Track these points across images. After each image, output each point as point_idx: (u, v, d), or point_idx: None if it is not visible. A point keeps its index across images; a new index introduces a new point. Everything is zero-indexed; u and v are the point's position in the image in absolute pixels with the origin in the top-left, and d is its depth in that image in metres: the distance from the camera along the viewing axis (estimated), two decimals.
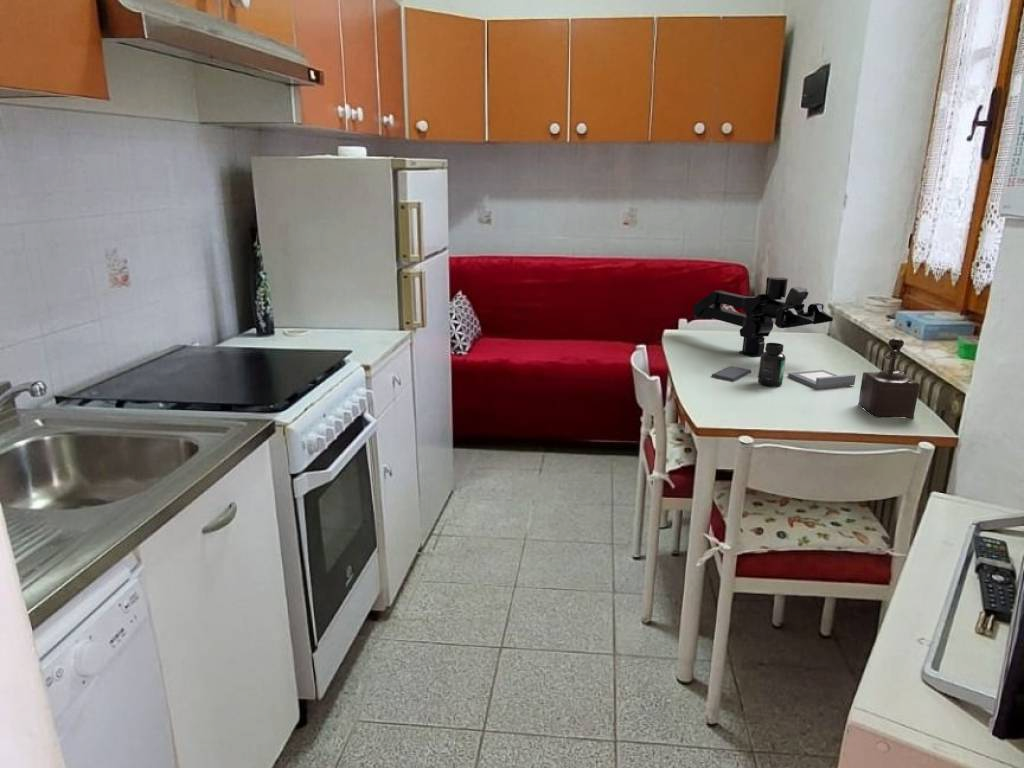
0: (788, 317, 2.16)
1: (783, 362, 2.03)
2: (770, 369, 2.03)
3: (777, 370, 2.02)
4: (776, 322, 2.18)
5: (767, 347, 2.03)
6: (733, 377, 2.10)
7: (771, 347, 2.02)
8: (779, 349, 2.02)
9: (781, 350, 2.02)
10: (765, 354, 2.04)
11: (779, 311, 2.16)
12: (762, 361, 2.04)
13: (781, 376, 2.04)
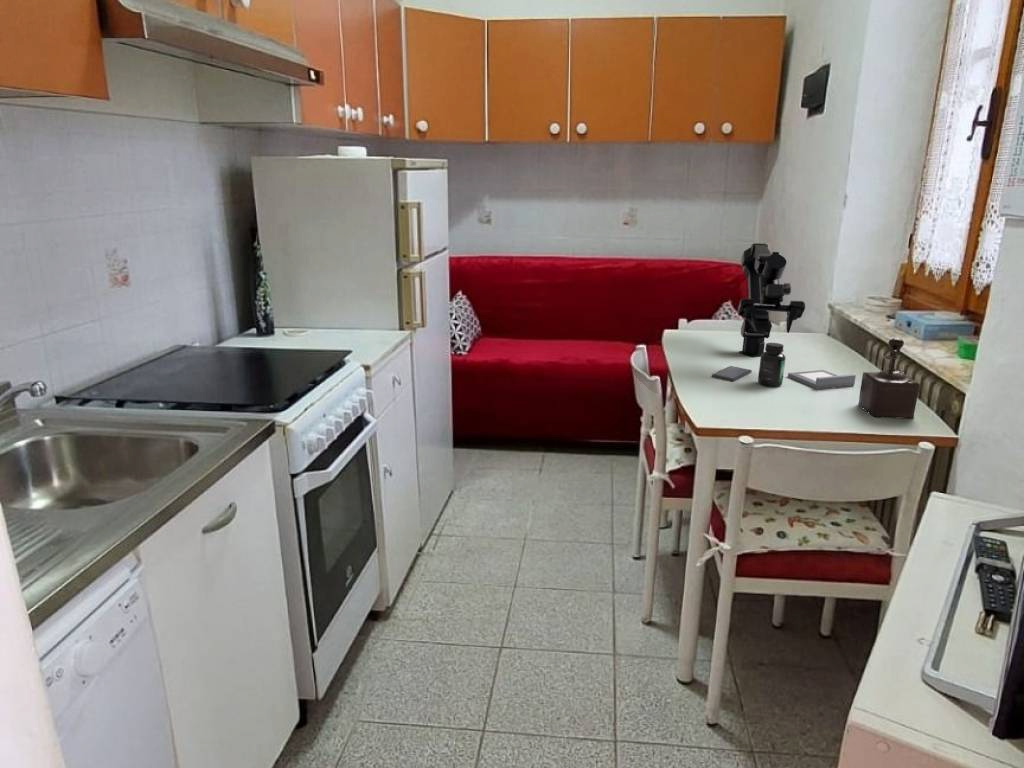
0: (746, 311, 2.14)
1: (783, 362, 2.03)
2: (770, 369, 2.03)
3: (777, 370, 2.02)
4: (738, 308, 2.18)
5: (767, 347, 2.03)
6: (733, 377, 2.10)
7: (771, 347, 2.02)
8: (779, 349, 2.02)
9: (781, 350, 2.02)
10: (765, 354, 2.04)
11: (740, 302, 2.14)
12: (762, 361, 2.04)
13: (781, 376, 2.04)
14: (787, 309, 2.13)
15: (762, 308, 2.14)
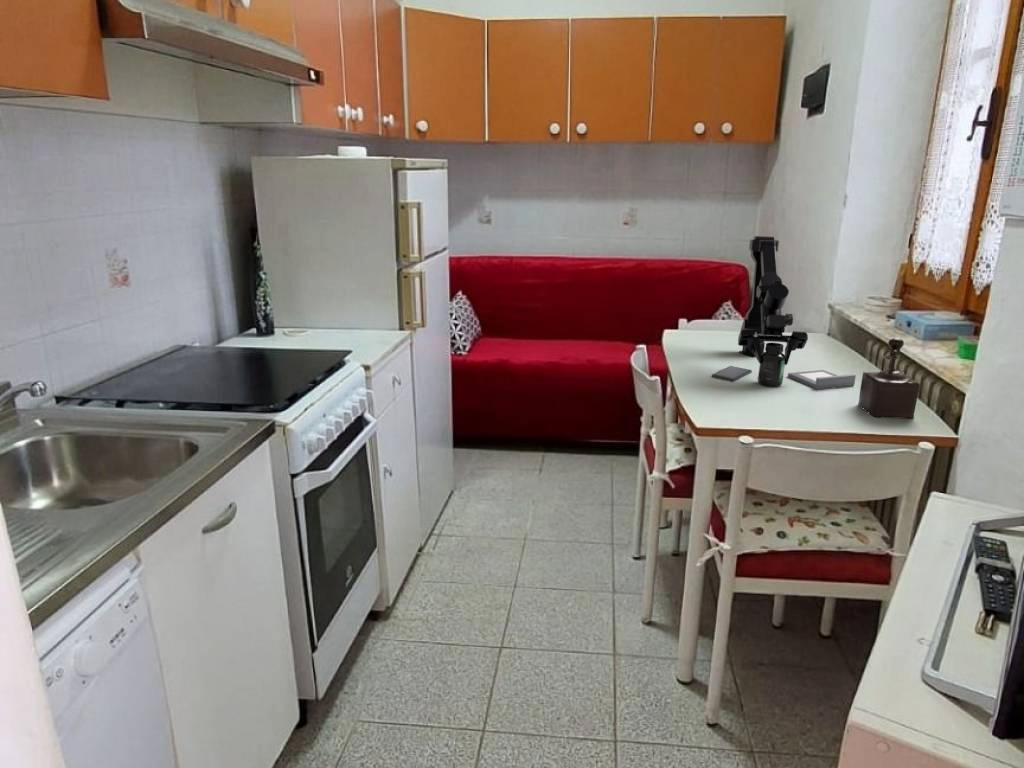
0: (750, 342, 2.07)
1: (783, 362, 2.03)
2: (770, 369, 2.03)
3: (777, 370, 2.02)
4: (738, 337, 2.11)
5: (767, 347, 2.03)
6: (733, 377, 2.10)
7: (771, 347, 2.02)
8: (779, 349, 2.02)
9: (781, 350, 2.02)
10: (765, 354, 2.04)
11: (740, 333, 2.07)
12: (762, 361, 2.04)
13: (781, 376, 2.04)
14: (789, 340, 2.07)
15: (763, 338, 2.08)
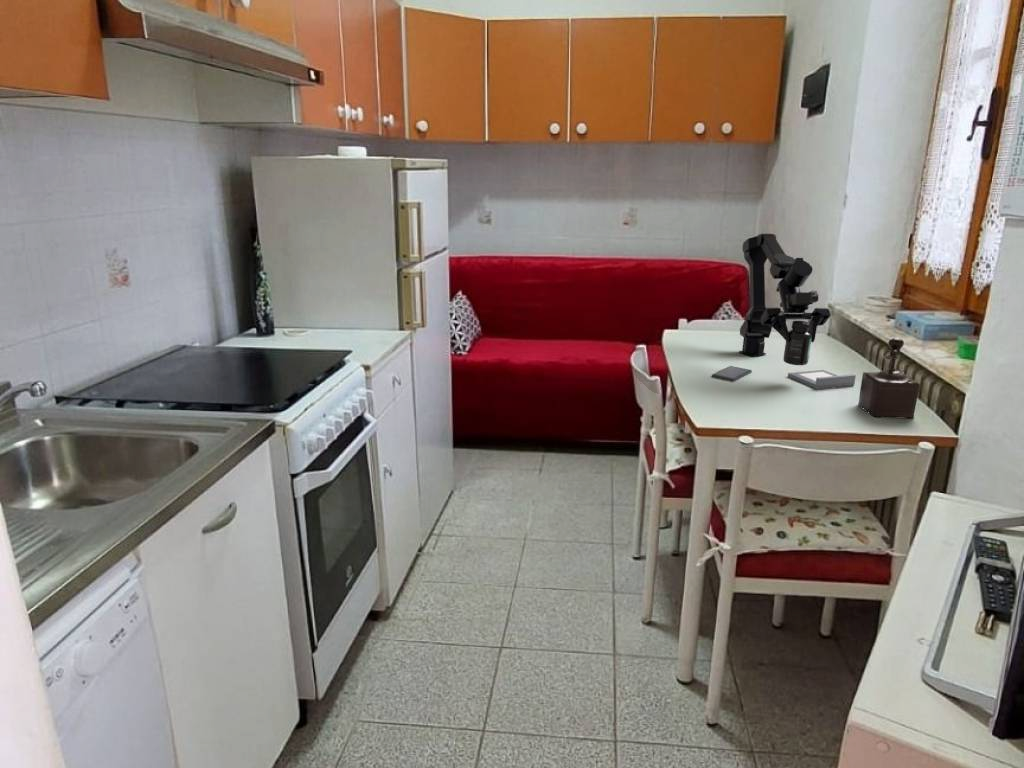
0: (775, 321, 2.05)
1: (811, 340, 2.02)
2: (799, 347, 2.01)
3: (805, 348, 2.01)
4: (761, 317, 2.08)
5: (795, 325, 2.01)
6: (733, 377, 2.10)
7: (800, 325, 2.00)
8: (807, 327, 2.01)
9: (809, 328, 2.01)
10: (793, 332, 2.02)
11: (766, 312, 2.04)
12: (790, 340, 2.02)
13: (808, 354, 2.03)
14: None
15: (787, 317, 2.06)
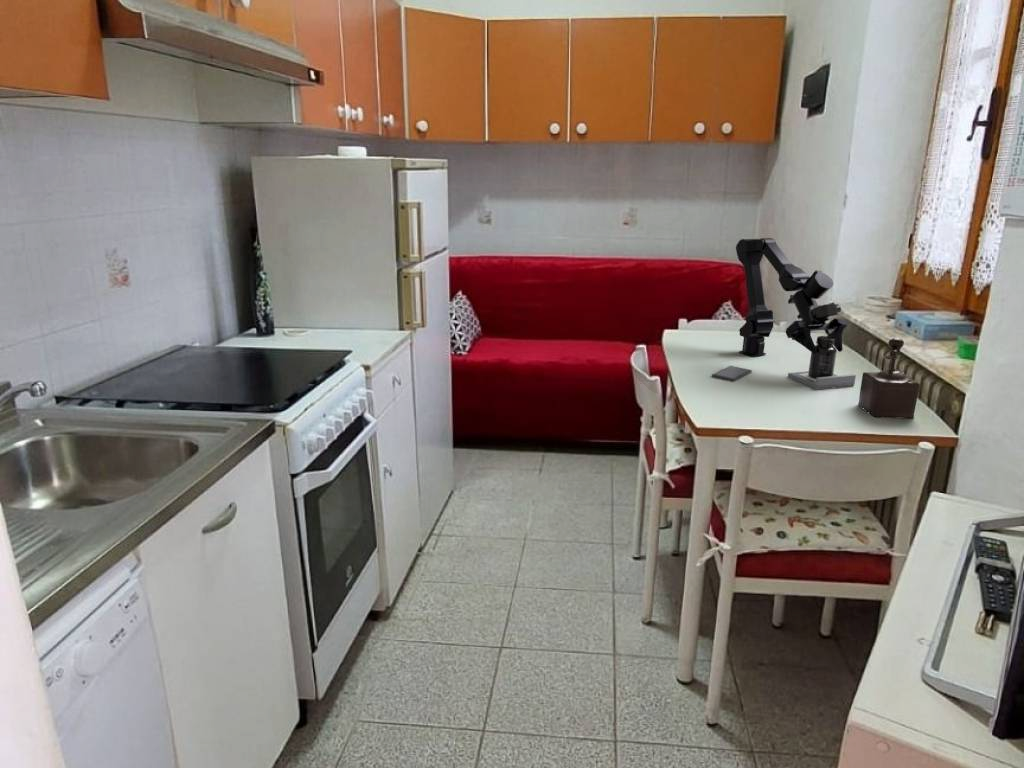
0: (799, 334, 2.07)
1: None
2: (828, 362, 2.06)
3: (833, 362, 2.06)
4: (787, 330, 2.09)
5: (822, 341, 2.05)
6: (733, 377, 2.10)
7: (827, 341, 2.05)
8: (833, 342, 2.06)
9: None
10: (820, 348, 2.06)
11: (794, 325, 2.06)
12: (818, 355, 2.06)
13: None
14: (831, 327, 2.11)
15: (811, 328, 2.09)
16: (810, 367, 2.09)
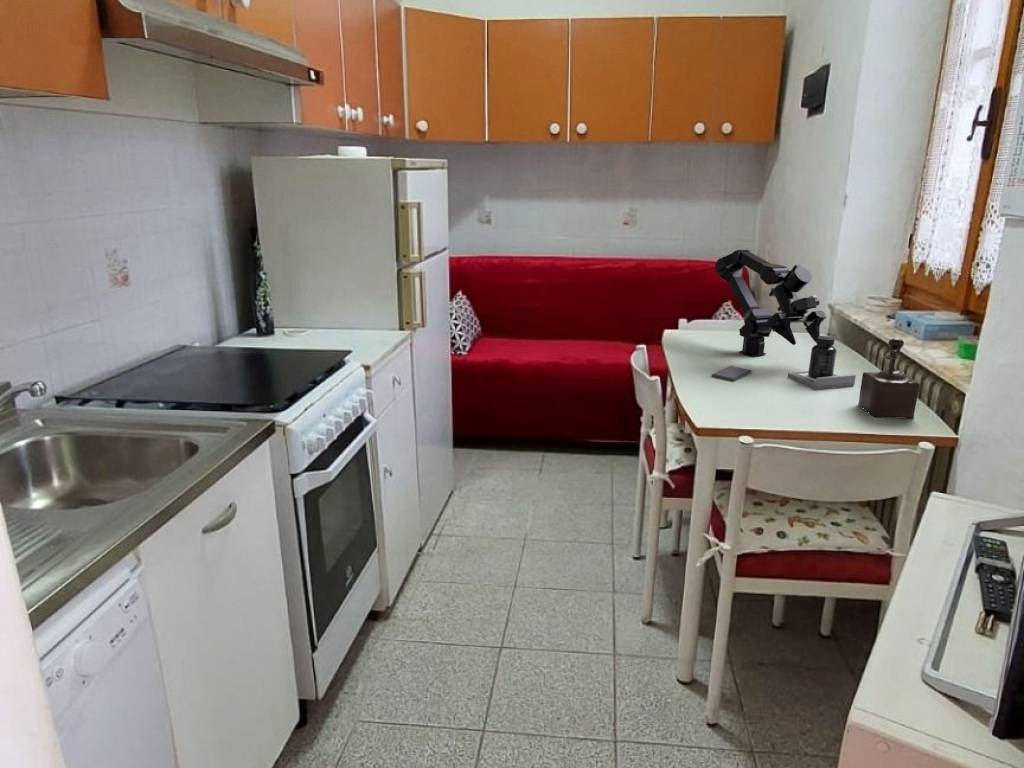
0: (780, 325, 2.15)
1: None
2: (828, 362, 2.06)
3: (833, 362, 2.06)
4: (768, 321, 2.17)
5: (822, 341, 2.05)
6: (733, 377, 2.10)
7: (827, 341, 2.05)
8: (833, 342, 2.06)
9: None
10: (820, 348, 2.06)
11: (775, 317, 2.14)
12: (818, 355, 2.06)
13: None
14: (809, 320, 2.20)
15: (790, 320, 2.17)
16: (810, 367, 2.09)
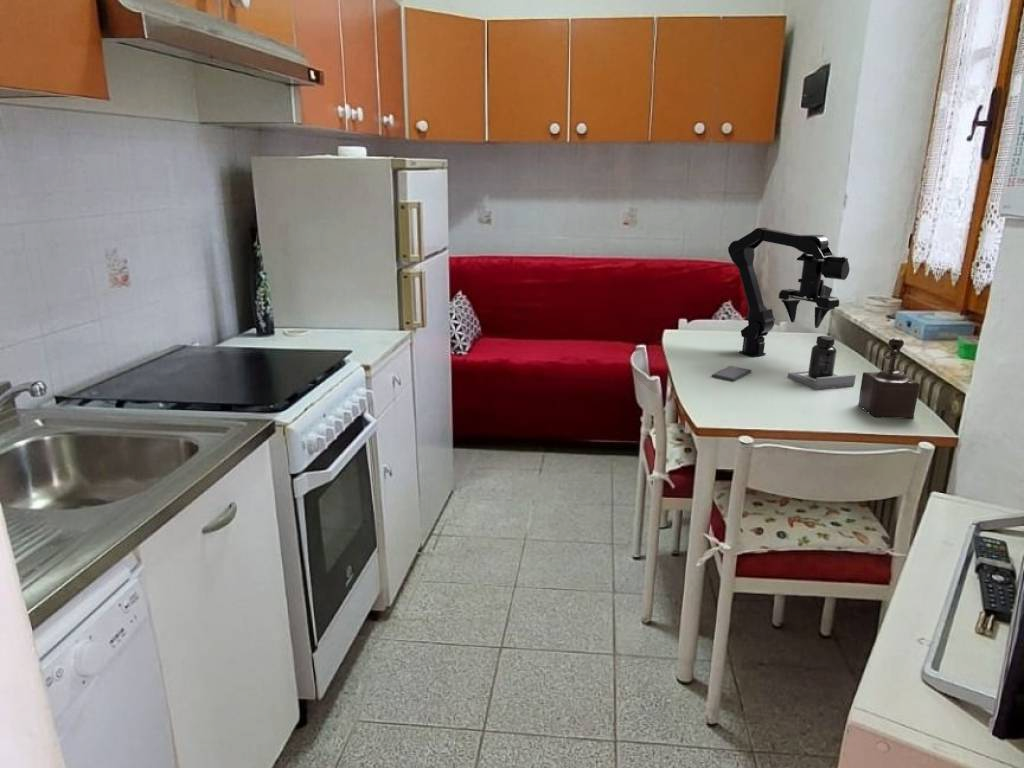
0: None
1: None
2: (828, 362, 2.05)
3: (833, 362, 2.06)
4: (830, 302, 2.13)
5: (822, 341, 2.05)
6: (733, 377, 2.10)
7: (827, 341, 2.05)
8: (833, 342, 2.06)
9: None
10: (820, 348, 2.06)
11: (838, 302, 2.15)
12: (818, 355, 2.06)
13: None
14: None
15: None
16: (810, 367, 2.09)
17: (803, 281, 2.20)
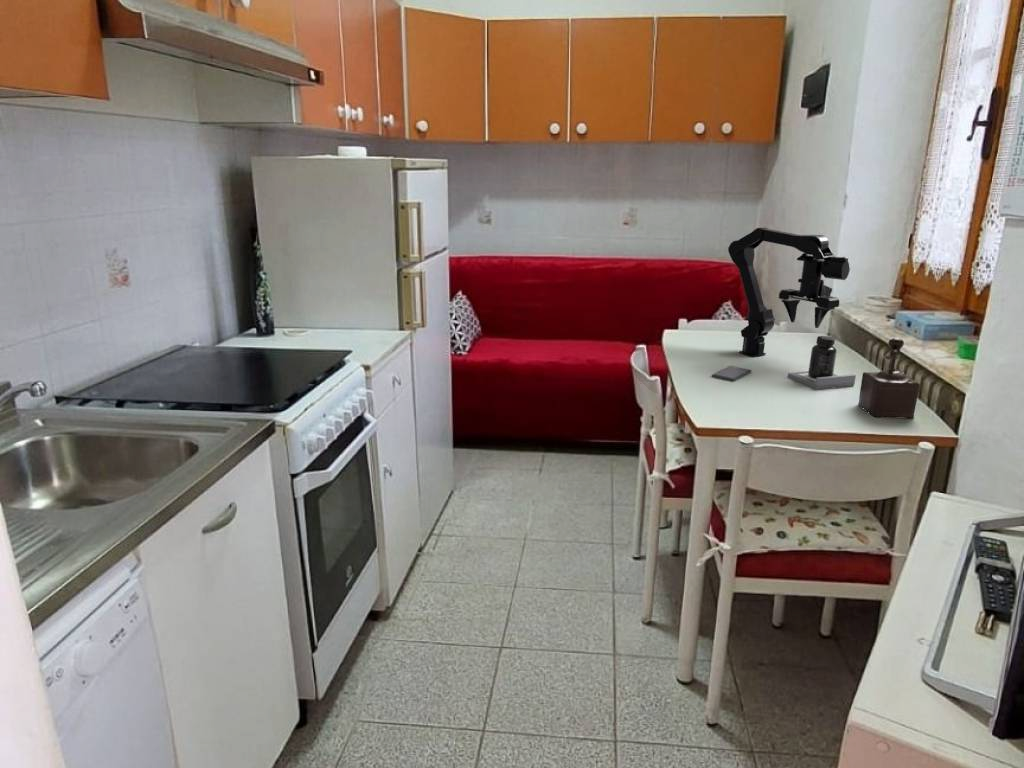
0: None
1: None
2: (828, 362, 2.06)
3: (833, 362, 2.06)
4: (830, 302, 2.13)
5: (822, 341, 2.05)
6: (733, 377, 2.10)
7: (827, 341, 2.05)
8: (833, 342, 2.06)
9: None
10: (820, 348, 2.06)
11: (838, 303, 2.15)
12: (818, 355, 2.06)
13: None
14: None
15: None
16: (810, 367, 2.09)
17: (803, 281, 2.20)
